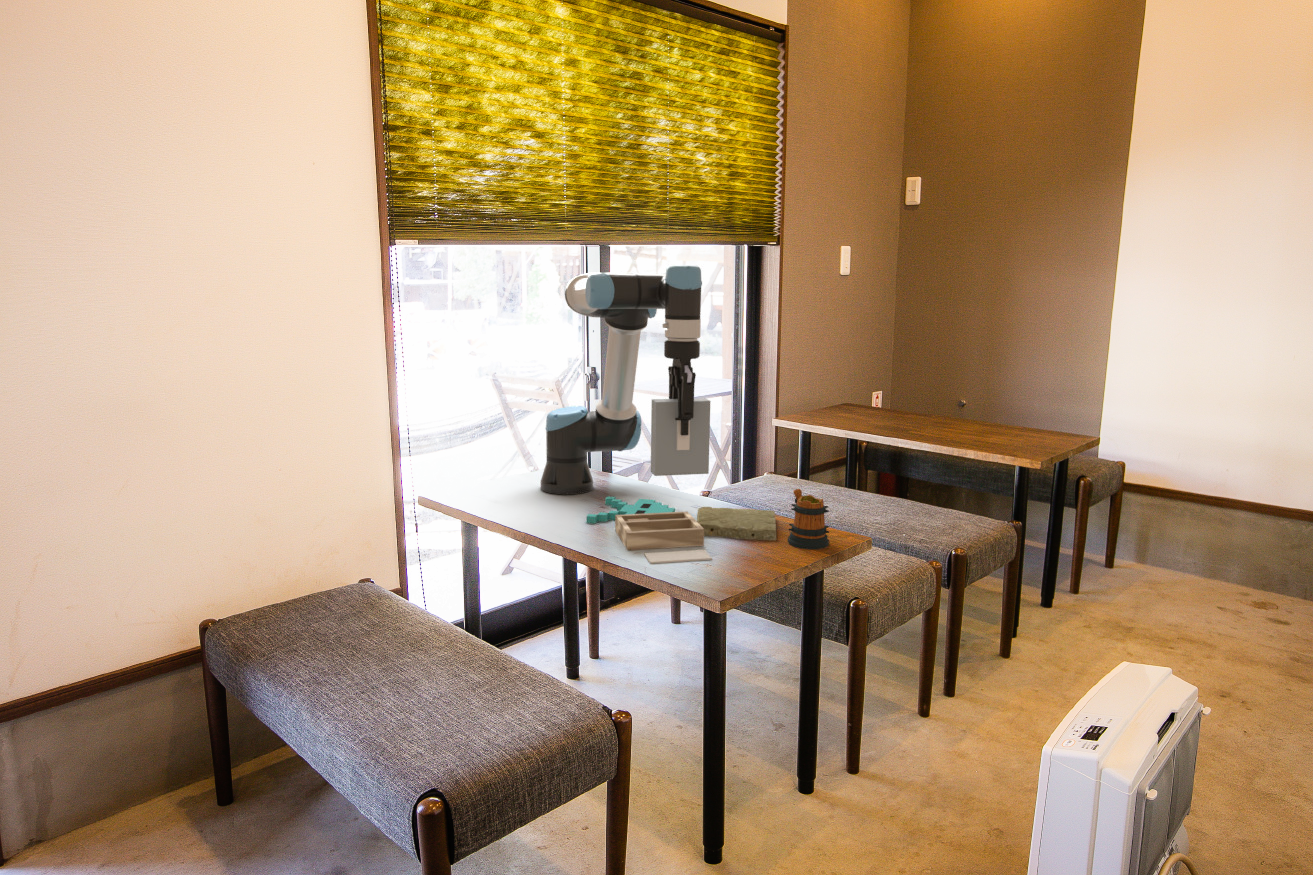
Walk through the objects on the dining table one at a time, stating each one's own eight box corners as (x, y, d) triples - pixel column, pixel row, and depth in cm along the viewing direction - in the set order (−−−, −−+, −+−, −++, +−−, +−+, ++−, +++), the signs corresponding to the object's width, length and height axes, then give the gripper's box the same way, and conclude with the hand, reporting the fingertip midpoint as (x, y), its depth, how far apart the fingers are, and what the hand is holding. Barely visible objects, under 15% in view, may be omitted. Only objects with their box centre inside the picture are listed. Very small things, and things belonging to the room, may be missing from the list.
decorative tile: (697, 517, 228) (697, 504, 227) (775, 521, 226) (775, 507, 225) (692, 539, 210) (693, 525, 209) (777, 543, 208) (778, 528, 207)
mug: (837, 548, 203) (840, 499, 201) (797, 551, 201) (800, 502, 198) (812, 531, 216) (815, 486, 213) (774, 534, 213) (776, 488, 211)
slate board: (650, 471, 192) (651, 399, 189) (703, 469, 195) (705, 398, 192) (654, 475, 188) (655, 402, 185) (708, 473, 191) (710, 400, 188)
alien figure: (586, 524, 220) (664, 530, 216) (586, 516, 220) (664, 522, 215) (607, 504, 239) (679, 509, 235) (607, 496, 239) (679, 501, 235)
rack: (615, 530, 214) (615, 514, 213) (686, 526, 218) (686, 511, 217) (627, 550, 199) (627, 533, 199) (703, 545, 204) (704, 528, 203)
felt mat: (644, 554, 196) (644, 553, 196) (704, 551, 200) (704, 549, 199) (650, 563, 191) (650, 561, 190) (712, 559, 194) (712, 558, 194)
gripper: (655, 336, 193) (654, 440, 198) (675, 342, 177) (673, 456, 181) (688, 336, 195) (686, 439, 199) (710, 342, 179) (707, 455, 183)
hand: (680, 447), depth 190 cm, fingers closed on slate board, 4 cm apart
